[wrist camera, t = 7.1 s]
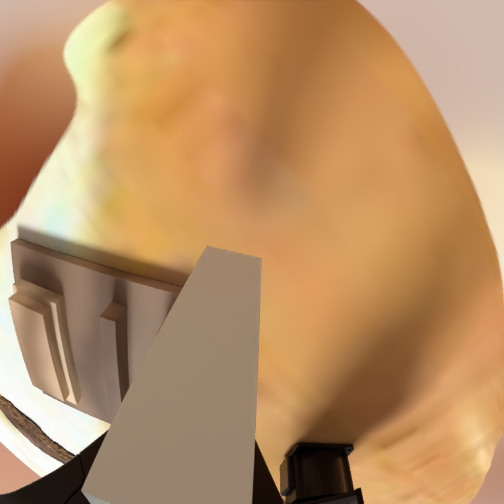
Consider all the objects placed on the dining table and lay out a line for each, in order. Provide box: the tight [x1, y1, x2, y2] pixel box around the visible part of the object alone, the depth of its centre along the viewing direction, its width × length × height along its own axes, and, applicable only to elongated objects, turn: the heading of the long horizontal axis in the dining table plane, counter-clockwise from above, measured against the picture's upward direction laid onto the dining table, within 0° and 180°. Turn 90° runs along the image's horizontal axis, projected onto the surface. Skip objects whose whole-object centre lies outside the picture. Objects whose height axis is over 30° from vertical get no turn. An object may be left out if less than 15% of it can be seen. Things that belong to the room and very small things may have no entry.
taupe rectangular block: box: [81, 246, 262, 504], centre depth 7 cm, size 2×7×9 cm, turn 167°
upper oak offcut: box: [8, 292, 70, 402], centre depth 18 cm, size 4×10×1 cm, turn 167°
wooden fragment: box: [0, 395, 74, 464], centre depth 30 cm, size 26×11×1 cm, turn 42°
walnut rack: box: [11, 238, 183, 424], centre depth 20 cm, size 18×18×3 cm
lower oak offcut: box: [13, 279, 82, 405], centre depth 20 cm, size 5×12×1 cm, turn 167°
